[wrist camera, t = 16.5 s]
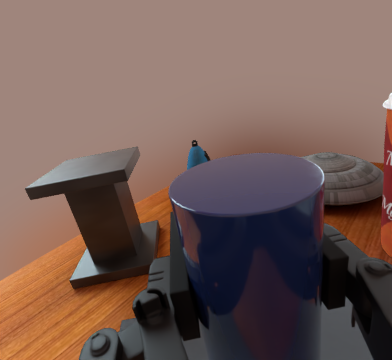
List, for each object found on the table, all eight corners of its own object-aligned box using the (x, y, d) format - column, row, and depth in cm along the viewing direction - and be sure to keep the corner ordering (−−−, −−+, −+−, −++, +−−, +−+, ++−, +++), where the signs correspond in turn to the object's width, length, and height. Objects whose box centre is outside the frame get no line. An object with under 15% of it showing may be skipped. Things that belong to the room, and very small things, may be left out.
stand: (73, 289, 25) (24, 188, 21) (97, 239, 34) (66, 160, 29) (155, 272, 26) (124, 168, 21) (159, 227, 34) (137, 146, 30)
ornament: (221, 207, 36) (211, 143, 33) (191, 211, 37) (178, 149, 33) (216, 185, 44) (208, 132, 40) (191, 189, 44) (181, 137, 41)
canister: (225, 446, 10) (170, 233, 6) (203, 326, 15) (166, 168, 11) (347, 410, 11) (370, 187, 7) (286, 305, 16) (278, 145, 12)
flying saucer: (267, 211, 33) (265, 174, 31) (278, 170, 45) (276, 142, 43) (405, 218, 27) (413, 173, 25) (374, 169, 39) (377, 136, 37)
